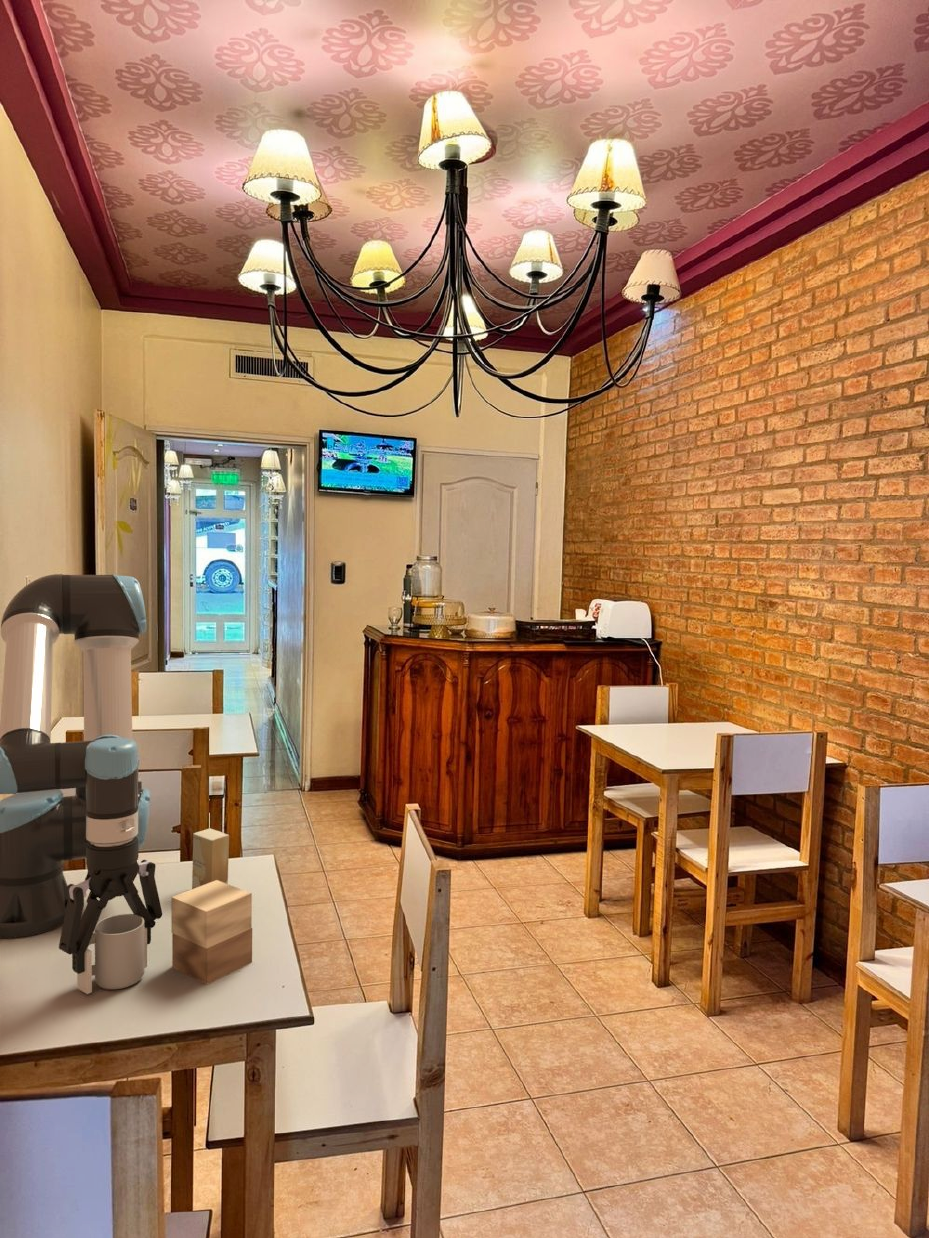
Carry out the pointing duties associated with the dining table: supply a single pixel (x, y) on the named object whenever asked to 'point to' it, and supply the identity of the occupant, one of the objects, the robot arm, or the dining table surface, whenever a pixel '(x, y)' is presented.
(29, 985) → the dining table surface
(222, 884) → the beech block
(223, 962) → the walnut block
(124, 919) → the cup
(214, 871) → the skincare box
